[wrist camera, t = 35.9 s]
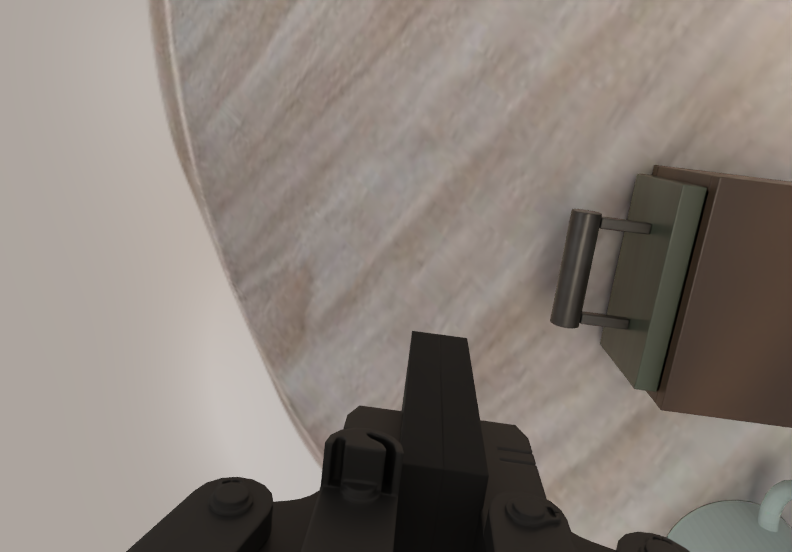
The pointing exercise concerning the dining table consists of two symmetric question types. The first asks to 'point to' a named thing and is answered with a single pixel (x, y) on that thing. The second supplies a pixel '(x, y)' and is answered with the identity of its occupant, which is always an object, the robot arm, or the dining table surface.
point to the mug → (738, 525)
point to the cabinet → (734, 305)
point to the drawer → (635, 274)
